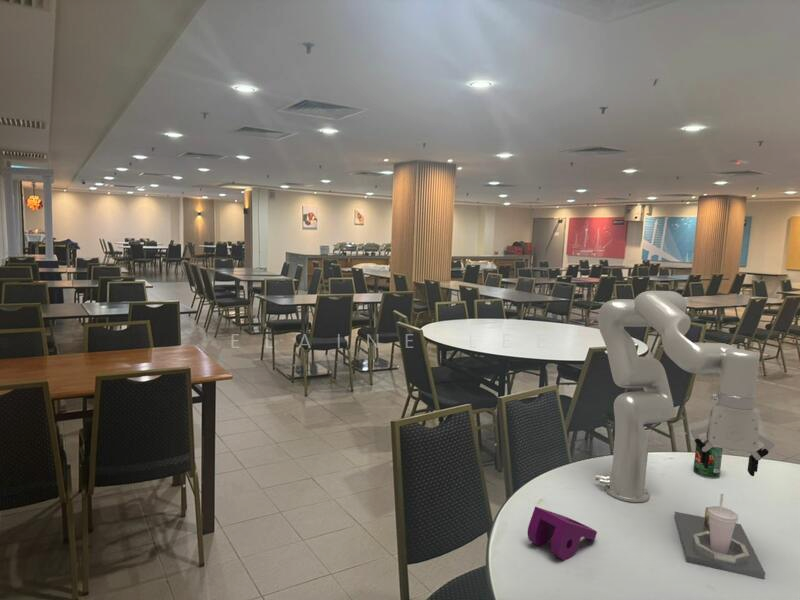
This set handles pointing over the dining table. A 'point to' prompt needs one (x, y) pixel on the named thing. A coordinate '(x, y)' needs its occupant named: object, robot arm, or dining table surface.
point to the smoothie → (721, 527)
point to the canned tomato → (713, 464)
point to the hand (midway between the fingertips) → (727, 470)
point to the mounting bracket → (557, 532)
